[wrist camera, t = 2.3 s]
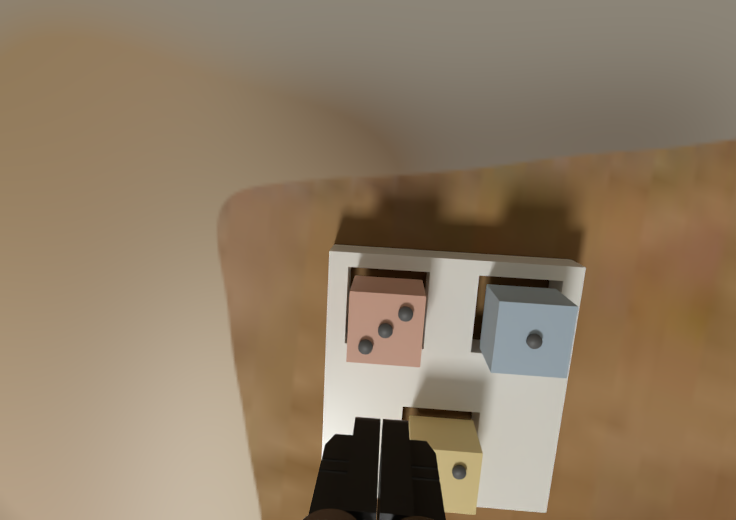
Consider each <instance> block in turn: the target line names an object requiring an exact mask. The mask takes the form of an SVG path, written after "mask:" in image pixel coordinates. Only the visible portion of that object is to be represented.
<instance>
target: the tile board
mask: <svg viewBox="0 0 736 520" xmlns="http://www.w3.org/2000/svg"><path fill="white" fill-rule="evenodd" d="M351 267H358V268H374V269H389V270H404V271H419V272H427V276H426V288H425V293H426V305H425V316H424V328H423V340H422V352H421V363H420V367H408V366H394V365H381V364H368V363H354V362H346V357H347V336H348V315H349V294H350V281H351ZM585 270H586V267H584V266H582V265H580V264H579V263H577V262H575V261H573V260H572V259H557V258H541V257H525V256H510V255H494V254H478V253H463V252H447V251H431V250H416V249H400V248H384V247H369V246H353V245H337V244H334V245H333V247H332V248H331V249H330V251H329V274H328V301H327V329H326V356H325V383H324V411H323V438H322V456H323V451H324V447H325V444H326V443H327V442H328V441H329V440H330V439H331V438H332V437H333V436H334V435H335V434H344V435H353V430H354V423H355V417H366V418H378V419H381V422H380V445H379V466H380V451H381V437H382V423H383V419H392V420H402V410H403V407H415V408H428V409H441V410H454V411H466V412H472V418H471V420H473V422H474V426H475V429H476V432H477V435H478V439H479V442H480V445H481V449H482V452H483V458H482V466H481V474H480V482H479V490H478V498H477V506H476V507H485V508H496V509H508V510H519V511H531V512H542V513H546V510H547V504H548V498H549V492H550V486H551V480H552V473H553V467H554V461H555V455H556V449H557V443H558V436H559V430H560V424H561V418H562V412H563V406H564V399H565V393H566V387H567V381H568V375H569V369H570V363H571V356H572V350H573V344H574V338H575V332H576V326H577V319H578V313H579V307H580V301H581V295H582V289H583V282H584V276H585ZM479 275H480V276H495V277H510V278H526V279H541V280H549V286H548V288H551V289H557V290H558V291H559V292H560V293H562V294H563V295H564V296H566V297H567V298H568V299H569V300H571V301H572V302H573V303H574V304H576V305H577V306H578V312H577V318H576V324H575V330H574V337H573V343H572V349H571V355H570V361H569V368H568V374H567V378H555V377H541V376H528V375H515V374H501V373H491V372H490V370H489V368H488V365H487V363H486V361H485V359H484V357H483V354H482V352H481V350H480V348H479V347H480V340H477V339H472V336H473V327H474V318H475V309H476V300H477V291H478V282H479ZM378 482H379V468H378ZM377 498H378V490H377Z"/></svg>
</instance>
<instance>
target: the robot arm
mask: <svg viewBox="0 0 736 520" xmlns="http://www.w3.org/2000/svg"><path fill="white" fill-rule="evenodd" d="M380 422H381V419H378V418H366V417H355V423H354V430H353V435H344V434H335V435H334V436H333V437H332V438H331V439H330V440H329V441H328V442H327V443H326V444H325V447H324V451H323V456H322V461H321V464H320V468H319V473H318V477H317V481H316V485H315V490H314V494H313V498H312V502H311V507H310V511H309V515H308V516H306V517H305V518H304V519H303V520H376V513H377V520H446V518H445V511H444V505H443V498H442V491H441V484H440V478H439V471H438V464H437V458H436V453H435V452H434V450H433V449H432V448H431V446H430V445H429V444H428V442H427V441H421V440H410V439H409V423H408V421H405V420H392V419H383V423H382V437H381V451H380V466H379V445H380ZM378 468H379V482H378ZM377 490H378V504H377Z"/></svg>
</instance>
